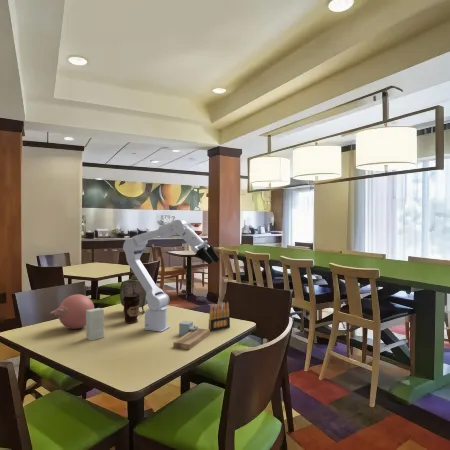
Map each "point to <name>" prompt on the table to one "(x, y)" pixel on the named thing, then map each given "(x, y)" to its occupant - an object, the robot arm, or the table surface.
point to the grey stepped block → (186, 327)
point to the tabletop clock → (133, 290)
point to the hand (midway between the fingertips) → (214, 261)
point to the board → (191, 339)
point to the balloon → (73, 311)
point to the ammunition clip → (219, 317)
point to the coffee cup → (131, 308)
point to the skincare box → (94, 324)
